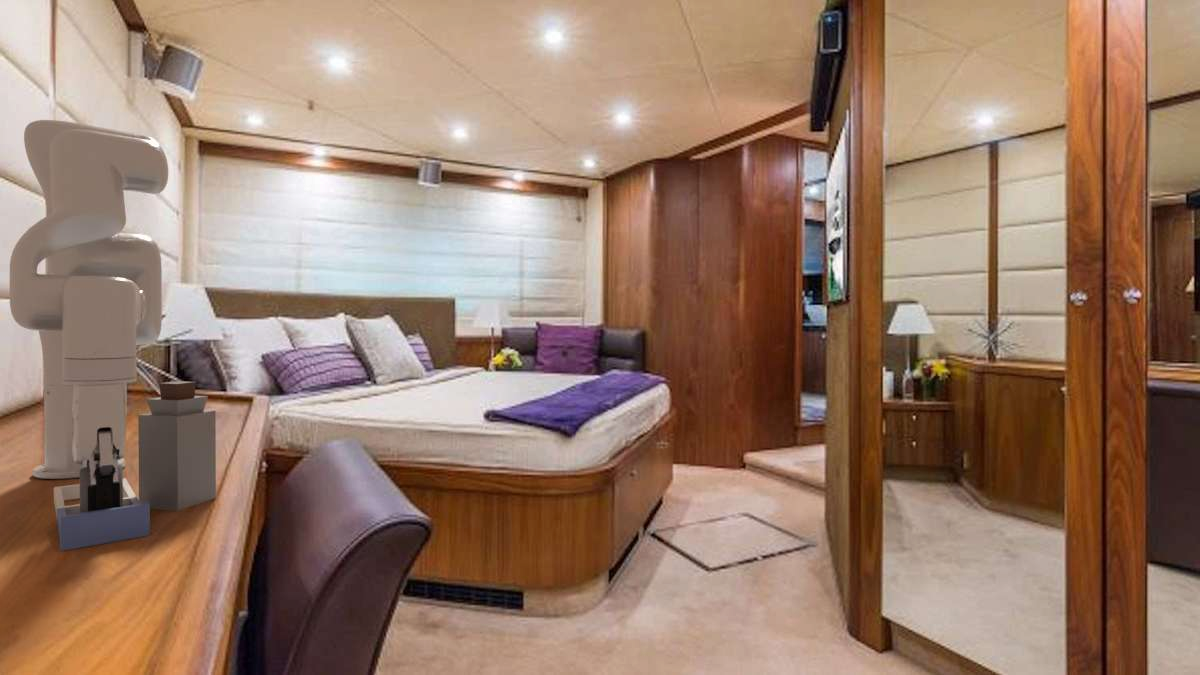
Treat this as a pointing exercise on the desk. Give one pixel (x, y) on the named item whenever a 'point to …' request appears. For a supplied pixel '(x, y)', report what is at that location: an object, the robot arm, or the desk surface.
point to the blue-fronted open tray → (99, 519)
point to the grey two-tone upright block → (86, 482)
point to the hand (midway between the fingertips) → (101, 508)
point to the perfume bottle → (177, 449)
